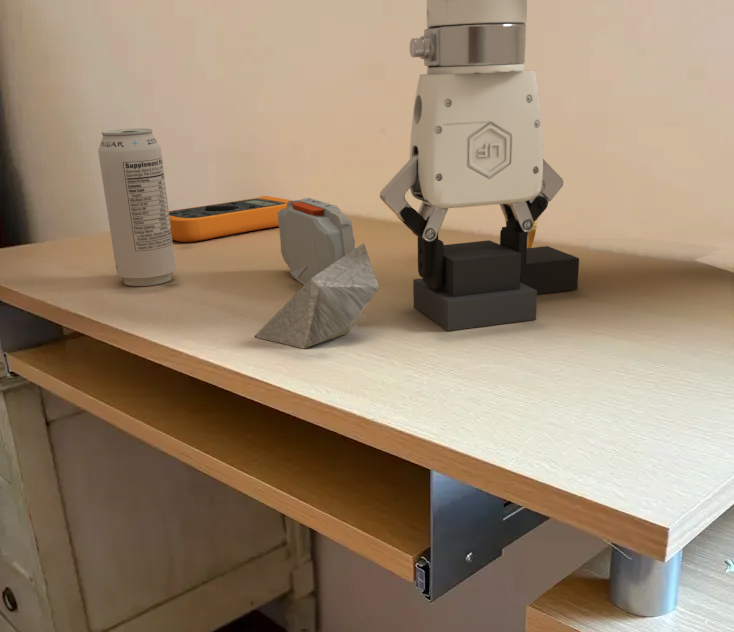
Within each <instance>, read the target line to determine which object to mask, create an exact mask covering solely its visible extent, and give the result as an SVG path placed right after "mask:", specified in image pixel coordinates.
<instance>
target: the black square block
mask: <svg viewBox="0 0 734 632" xmlns="http://www.w3.org/2000/svg"><path fill="white" fill-rule="evenodd" d="M520 267H521V253H519V252H516V251H514V250H511V249H509V248H507V247H504V246H502V245H500V243H497V242H495V241H492V240H490V239H489V240H480V241H479V240H477V241H469V242H461V243H450V244H444V285H443V287H442V288H441V290H443V291H444V292H446V293H448V294H449V295H451V296H452V297H457V296H466V295H474V294H482V293H491V292H499V291H507V290H516V289H520Z"/></svg>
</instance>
